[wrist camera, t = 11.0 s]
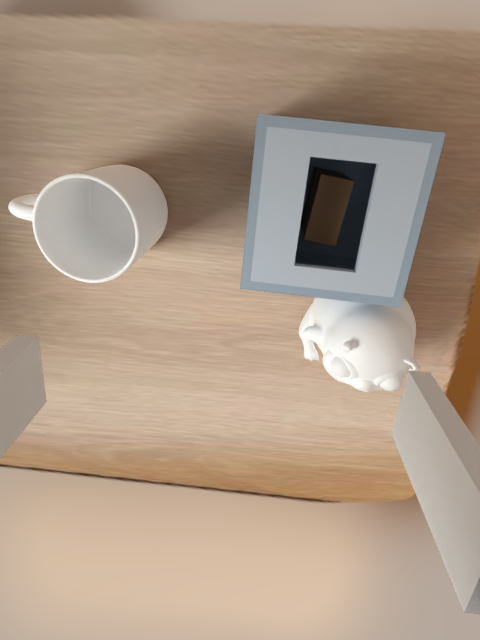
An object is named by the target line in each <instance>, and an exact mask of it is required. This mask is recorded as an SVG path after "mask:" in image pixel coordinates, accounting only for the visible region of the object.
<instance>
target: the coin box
mask: <svg viewBox="0 0 480 640" xmlns="http://www.w3.org/2000/svg"><path fill="white" fill-rule="evenodd" d="M445 135H446V133H444V132H434V131H424V130H415V129H405V128H395V127H385V126H375V125H365V124H355V123H345V122H335V121H326V120H316V119H306V118H296V117H286V116H276V115H266V114H258V115H257V125H256V135H255V145H254V155H253V165H252V175H251V185H250V195H249V205H248V215H247V225H246V235H245V245H244V256H243V266H242V276H241V286H240V289H246V290H255V291H264V292H272V293H281V294H289V295H298V296H306V297H315V298H324V299H332V300H341V301H349V302H358V303H366V304H375V305H383V306H392V307H401V304H402V300H403V296H404V292H405V288H406V284H407V281H408V277H409V273H410V269H411V265H412V261H413V258H414V254H415V250H416V246H417V242H418V238H419V235H420V231H421V227H422V223H423V219H424V215H425V212H426V208H427V204H428V200H429V196H430V192H431V188H432V185H433V181H434V177H435V173H436V169H437V165H438V162H439V158H440V154H441V150H442V146H443V142H444V139H445ZM314 167H318V168H322V169H327V170H332V171H336V172H341V173H343V174H345V175H346V176H347V177H349V178H350V179H352V180H353V181H354V184H353V187H352V190H351V194H350V197H349V201H348V204H347V208H346V211H345V215H344V218H343V222H342V225H341V228H340V232H339V235H338V239H337V242H336V246H332V245H327V244H323V243H318V242H313V241H309V240H304V236H303V232H302V227H301V218H302V214H303V210H304V206H305V202H306V198H307V194H308V190H309V186H310V182H311V178H312V174H313V170H314Z"/></svg>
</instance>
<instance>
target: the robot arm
mask: <svg viewBox="0 0 480 640" xmlns="http://www.w3.org/2000/svg"><path fill="white" fill-rule="evenodd" d="M45 403H46V394H45V386H44V378H43V370H42V362H41V354H40V346H39V338H38V337H35V336H24V335H16V336H15V337H14V338H13V339H12V340H10V341H9V342H8V343H7V344H6V345H4V346H3V347H2V348H1V349H0V459H1V458H2V456H3V455H4V454H5V453H6V451H7V450H8V449H9V448H10V446H11V445H12V444H13V443H14V441H15V440H16V439H17V438H18V436H19V435H20V434H21V433H22V431H23V430H24V429H25V428H26V426H27V425H28V424H29V423H30V421H31V420H32V419H33V418H34V416H35V415H36V414H37V413H38V412H39V410H40V409H41V408H42V407H43V405H44V404H45ZM392 437H393V439H394V442H395V444H396V446H397V449H398V451H399V454H400V456H401V459H402V461H403V464H404V466H405V468H406V471H407V473H408V476H409V478H410V481H411V483H412V486H413V488H414V491H415V493H416V495H417V498H418V500H419V503H420V505H421V507H422V510H423V513H424V515H425V517H426V520H427V522H428V525H429V527H430V530H431V532H432V535H433V537H434V539H435V542H436V544H437V547H438V549H439V552H440V554H441V557H442V559H443V562H444V564H445V566H446V569H447V571H448V574H449V576H450V579H451V581H452V583H453V586H454V588H455V591H456V593H457V596H458V598H459V601H460V603H461V606H462V608H463V610H464V612H465V613H474V614H480V446H479V445H478V443H477V442H476V440H475V439H474V437H473V436H472V434H471V433H470V431H469V430H468V429H467V427H466V426H465V424H464V422H463V421H462V419H461V418H460V416H459V415H458V413H457V412H456V410H455V409H454V407H453V406H452V404H451V403H450V401H449V400H448V398H447V397H446V395H445V394H444V392H443V391H442V389H441V388H440V386H439V385H438V384H437V382H436V381H435V379H434V378H433V376H432V375H431V373H429V372H418V371H408V374H407V377H406V381H405V385H404V389H403V393H402V396H401V400H400V404H399V408H398V412H397V415H396V419H395V423H394V427H393V431H392Z"/></svg>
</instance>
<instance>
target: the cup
mask: <svg viewBox="0 0 480 640" xmlns="http://www.w3.org/2000/svg"><path fill="white" fill-rule="evenodd" d="M8 208H9V211H10V212H11V213H12V214H13V215H14V216H16V217H18V218H21V219H24V220H28V221H32V222H33V231H34V235H35V238H36V241H37V243H38V246H39V248H40V249H41V251H42V253H43V254H44V256H45V257H46V258H47V260H48V261H49V262H50V263H51V264H52V265H53V266H54V267H55V268H56V269H58V270H59V271H60V272H62V273H63V274H65V275H67V276H69V277H71V278H73V279H76V280H79V281H83V282H88V283H100V282H106V281H109V280H112V279H114V278H116V277H118V276H120V275H121V274H123V273H124V272H125V271H126V270H127V269H128V268H129V267H130V266H132V265H133V264H134V263H135V262H136V261H137V260H138V259H139V258H140V257H141V256H142V255H143V254H145V253H146V252H147V251H148V250H149V249H150V248H151V247H152V246H153V245H154V244H155V243H156V242H157V241H158V240H159V239H160V237H161V236H162V234H163V232H164V230H165V227H166V224H167V219H168V207H167V202H166V199H165V196H164V194H163V192H162V190H161V188H160V186H159V185H158V184H157V182H156V181H155V180H154V179H153V178H152V177H151V176H150V175H148V174H147V173H146V172H144V171H142V170H140V169H138V168H135V167H132V166H128V165H111V166H105V167H101V168H96V169H91V170H87V171H82V172H77V173H73V174H68V175H64V176H61V177H59V178H56V179H55V180H53V181H51V182H50V183H49V184H48V185H46V186H45V187H44V189H43V190H42V191H41V192H40V193H34V194H27V195H23V196H19V197H17V198H15V199H13V200H11V202H10V203H9V206H8Z"/></svg>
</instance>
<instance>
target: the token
mask: <svg viewBox="0 0 480 640" xmlns="http://www.w3.org/2000/svg"><path fill="white" fill-rule="evenodd" d="M353 184H354V181H353V180H352V179H350V178H349V177H347V176H346V175H345V174H343V173H341V172H336V171H332V170H327V169H322V168H318V167H314V170H313V174H312V178H311V182H310V186H309V190H308V194H307V198H306V202H305V206H304V210H303V214H302V218H301V227H302V232H303V236H304V240H309V241H313V242H318V243H323V244H327V245H332V246H336V242H337V239H338V235H339V232H340V228H341V225H342V222H343V218H344V215H345V211H346V208H347V204H348V201H349V197H350V194H351V190H352V187H353Z"/></svg>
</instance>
